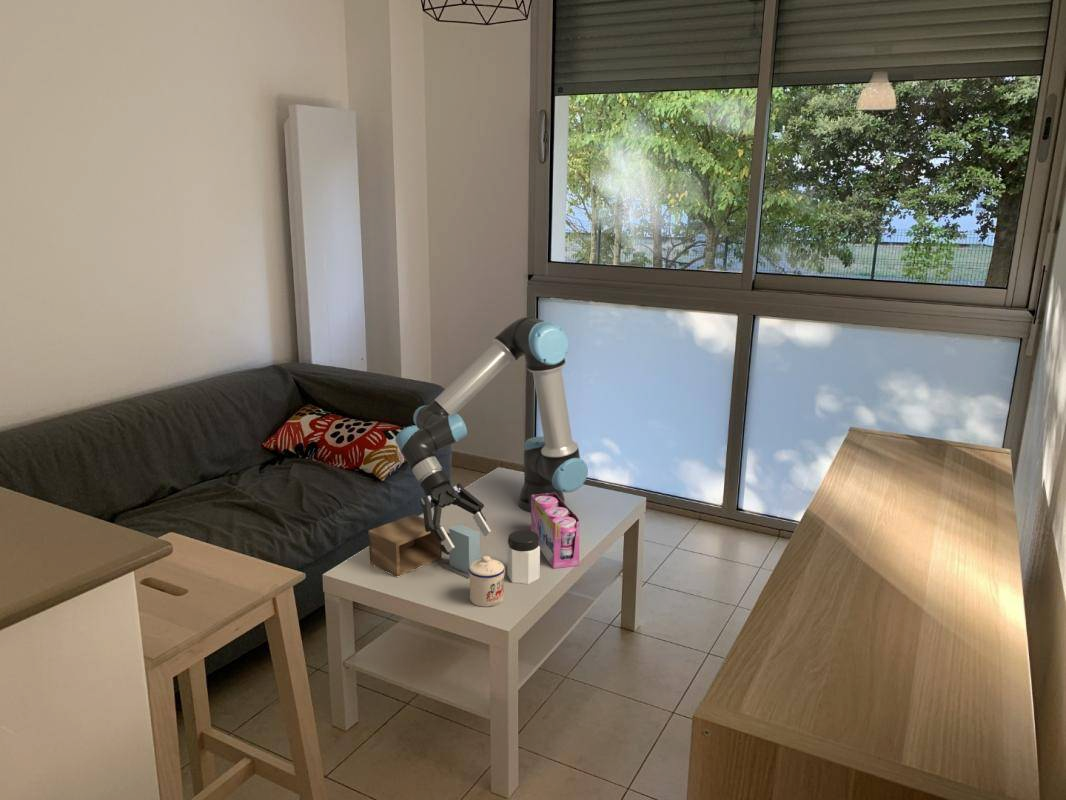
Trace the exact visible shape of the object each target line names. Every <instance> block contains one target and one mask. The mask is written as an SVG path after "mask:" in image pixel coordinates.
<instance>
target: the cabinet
mask: <svg viewBox="0 0 1066 800" xmlns="http://www.w3.org/2000/svg"><path fill="white" fill-rule="evenodd" d="M440 527H442V525H441V524H440V526H439V528H440ZM446 533H447V535H448V536H449V532H446ZM368 548H369V565H371V564H372V565H371V566H373V565H375V566H376V568H377V567H378V569H379V568H380V570H381V569H382V570H381V571H383V570H384V571H383V572H385V571H387V572H389V573H391V574H393V575H395V576H400V575H402V574H404V573H406V574H408V573H407V572H409V571H411V570H413V569H416V568H418V567H420V566H423V565H425V566H427V565H429V564H428V563H430V564H431V562H432V563H434V562H436V561H435V560H437V561H439V560H442V555H443V553H444V554H446V555H448V556H450V554H449V552H447V550H446V548H445V547H444V545H443V544H442V541H441V542H440V541H439V540H438V538H437V537H436V535H435V533H431V532H430V531H429V532H426V531H425V524H424V517H422V516H419V515H417V514H414V513H412V514H411V515H408V516H405V517H402V518H399V519H397V520H394V521H392V522H388V523H385V524H383V525H380V526H378V527H375V528H372V529H369V530H368ZM438 559H439V560H438ZM433 561H434V562H433ZM426 564H427V565H426ZM375 566H374V567H375ZM423 567H424V566H423ZM444 567H445V568H444ZM420 568H421V567H420ZM442 568H444V569H446V568H447V569H446V570H448V569H449V570H448V571H450V570H451V571H450V572H452V571H454V572H456V573H455V574H457V575H459V574H460V575H459V576H461V575H462V576H461V577H463V576H464V577H463V578H465V577H466V578H465V579H468V578H469V579H470V574H468V573H466V572H464V571H461V570H459V569H457V568H455V567H453V566H451V565H450V562H449V563H447V564H444V565H443V566H442ZM418 569H419V568H418ZM416 570H417V569H416ZM413 571H414V570H413ZM387 572H386V573H387ZM411 572H412V571H411ZM454 572H453V573H454ZM389 573H388V574H389ZM409 573H410V572H409ZM391 574H390V575H391ZM393 575H392V576H393ZM404 575H405V574H404ZM395 576H394V577H395ZM402 576H403V575H402ZM400 577H401V576H400Z"/></svg>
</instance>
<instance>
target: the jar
mask: <svg viewBox="0 0 1066 800" xmlns="http://www.w3.org/2000/svg"><path fill="white" fill-rule="evenodd" d="M507 538H508V539H507V544H506V546H507V547H506V548H507V549H506V551H507V552H506V553H507V554H506V556H507V557H506V558H507V561H506V565H507V566H506V570H507V573H506V575H507V577H508V578H509V580H510V581H511V583H512V584H513V583H514V584H522V585H530V584H532V583H534V582H536V581H537V580H539V579H540V578H541V577H540V576H541V575H540V574H541V572H540V570H541V567H540V566H541V550H540V546H539V536H538V534H537V533H535V532H532V531H531V530H527V529H523V530H515V531H513V532H510V534H508V537H507Z"/></svg>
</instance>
